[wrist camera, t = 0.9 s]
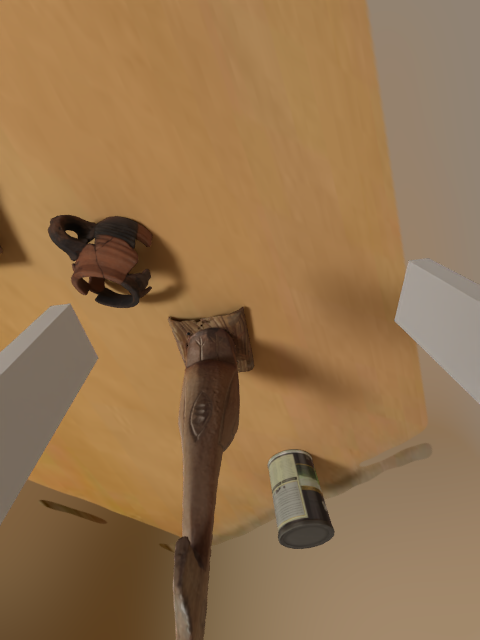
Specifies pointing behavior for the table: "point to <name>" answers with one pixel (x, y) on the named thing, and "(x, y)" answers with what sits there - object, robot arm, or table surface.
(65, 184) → the table surface
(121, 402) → the table surface
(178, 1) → the table surface
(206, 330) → the brown tall tapered piece
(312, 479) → the coffee can
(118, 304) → the pottery mug
